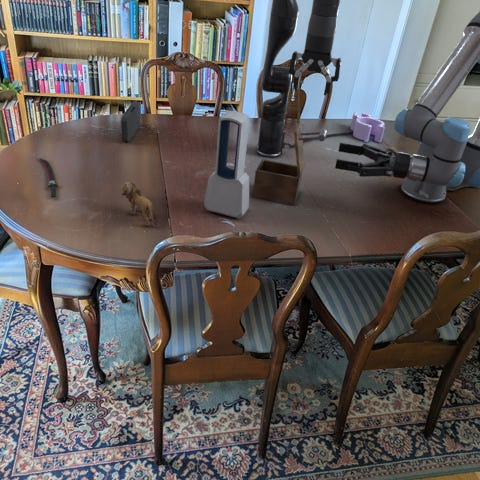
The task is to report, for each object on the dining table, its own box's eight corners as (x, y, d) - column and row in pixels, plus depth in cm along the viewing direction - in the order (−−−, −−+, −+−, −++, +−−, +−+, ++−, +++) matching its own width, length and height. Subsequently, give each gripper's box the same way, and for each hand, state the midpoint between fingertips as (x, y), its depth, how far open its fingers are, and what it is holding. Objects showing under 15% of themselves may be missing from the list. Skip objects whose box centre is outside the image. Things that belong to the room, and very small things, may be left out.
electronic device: (248, 210, 145) (259, 115, 129) (241, 221, 139) (251, 123, 123) (211, 201, 148) (218, 107, 132) (202, 211, 142) (207, 114, 125)
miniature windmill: (298, 130, 211) (309, 61, 195) (279, 127, 212) (289, 59, 196) (300, 124, 219) (311, 57, 203) (282, 121, 220) (292, 55, 204)
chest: (252, 197, 153) (255, 170, 148) (258, 184, 161) (262, 159, 156) (294, 205, 151) (299, 178, 146) (298, 192, 159) (303, 166, 154)
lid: (293, 132, 138) (323, 130, 136) (298, 122, 147) (326, 120, 144) (297, 177, 146) (326, 176, 143) (302, 165, 154) (329, 164, 151)
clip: (343, 126, 223) (346, 112, 219) (367, 127, 225) (371, 113, 221) (360, 142, 206) (364, 127, 202) (386, 142, 209) (390, 127, 205)
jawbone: (425, 170, 187) (427, 165, 186) (378, 154, 198) (379, 150, 196) (434, 162, 193) (435, 157, 192) (388, 148, 203) (389, 143, 202)
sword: (61, 197, 141) (61, 193, 140) (50, 198, 139) (50, 194, 139) (49, 160, 164) (48, 156, 163) (39, 160, 163) (39, 157, 162)
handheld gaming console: (134, 123, 200) (133, 100, 195) (140, 124, 200) (140, 100, 195) (121, 142, 181) (119, 117, 175) (128, 143, 181) (127, 118, 175)
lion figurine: (118, 210, 138) (116, 182, 133) (132, 204, 141) (131, 177, 137) (151, 229, 130) (150, 201, 126) (165, 223, 134) (165, 195, 129)
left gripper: (293, 31, 126) (284, 91, 134) (346, 38, 123) (334, 99, 132) (297, 27, 132) (288, 85, 141) (347, 34, 130) (335, 93, 138)
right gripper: (406, 196, 132) (332, 183, 136) (403, 162, 152) (338, 151, 156) (414, 172, 128) (336, 159, 131) (409, 140, 148) (342, 130, 152)
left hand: (310, 92), depth 136 cm, fingers open, 8 cm apart
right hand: (337, 155), depth 144 cm, fingers open, 13 cm apart
